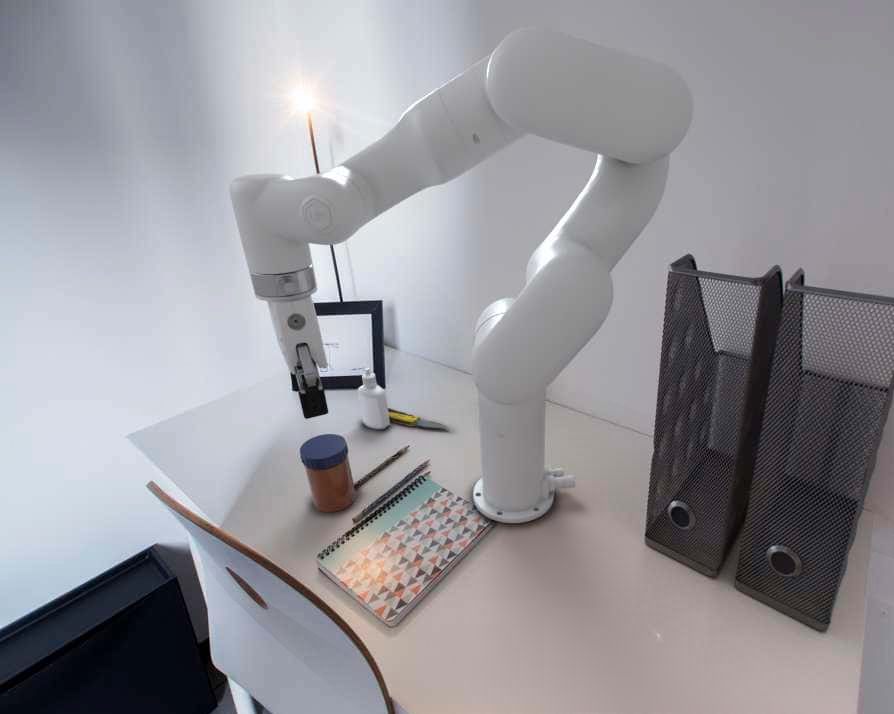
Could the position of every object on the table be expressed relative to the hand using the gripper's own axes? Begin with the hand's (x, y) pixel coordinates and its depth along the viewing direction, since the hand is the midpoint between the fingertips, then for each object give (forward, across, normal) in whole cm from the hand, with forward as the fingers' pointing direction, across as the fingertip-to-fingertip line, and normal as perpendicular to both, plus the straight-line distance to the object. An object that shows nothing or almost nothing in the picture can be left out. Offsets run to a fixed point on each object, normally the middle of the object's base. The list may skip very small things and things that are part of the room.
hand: (310, 401), depth 75 cm
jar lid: (+8, 0, 0) cm, 8 cm away
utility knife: (+18, +16, -19) cm, 30 cm away
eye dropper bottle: (+18, +19, -12) cm, 29 cm away
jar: (+18, 0, 0) cm, 18 cm away
